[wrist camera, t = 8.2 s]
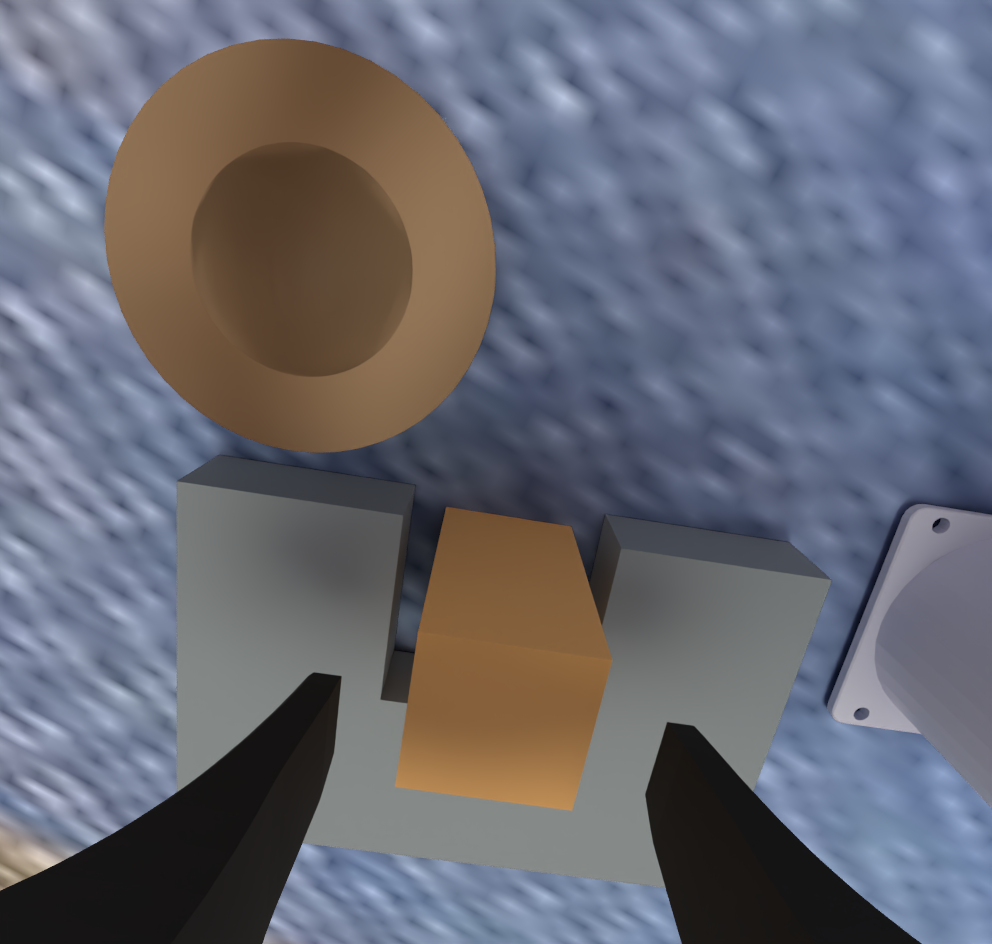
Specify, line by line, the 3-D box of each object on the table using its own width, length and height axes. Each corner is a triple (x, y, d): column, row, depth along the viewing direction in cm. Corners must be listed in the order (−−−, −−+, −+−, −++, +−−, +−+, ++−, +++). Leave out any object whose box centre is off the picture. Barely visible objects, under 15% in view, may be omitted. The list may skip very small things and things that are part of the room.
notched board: (790, 542, 19) (832, 580, 17) (691, 829, 23) (714, 893, 20) (218, 454, 18) (176, 481, 16) (211, 767, 22) (177, 827, 19)
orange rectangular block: (571, 526, 19) (612, 660, 12) (546, 634, 20) (572, 811, 13) (446, 506, 19) (417, 631, 12) (429, 617, 20) (395, 787, 13)
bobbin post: (515, 154, 16) (526, 82, 10) (475, 414, 18) (465, 477, 12) (246, 106, 15) (96, 0, 10) (238, 376, 17) (111, 422, 12)
